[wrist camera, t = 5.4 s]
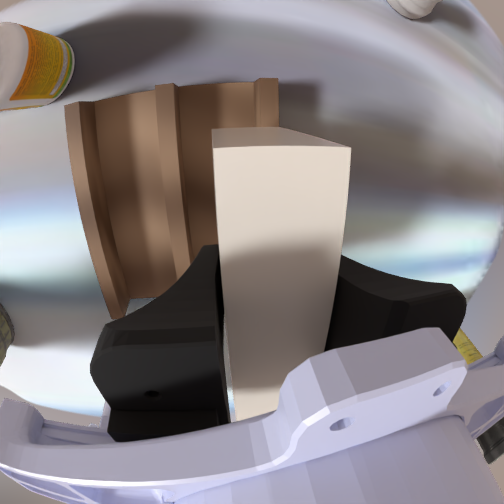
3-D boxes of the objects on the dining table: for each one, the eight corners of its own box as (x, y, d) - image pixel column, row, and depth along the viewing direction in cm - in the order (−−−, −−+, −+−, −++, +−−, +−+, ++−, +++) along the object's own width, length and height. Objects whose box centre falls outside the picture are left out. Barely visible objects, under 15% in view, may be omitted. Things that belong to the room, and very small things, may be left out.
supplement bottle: (68, 25, 12) (-10, -8, 4) (84, 84, 15) (-2, 77, 6) (14, 63, 12) (-73, 61, 4) (28, 120, 15) (-63, 143, 6)
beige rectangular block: (276, 310, 17) (309, 411, 11) (224, 315, 16) (236, 422, 10) (280, 127, 12) (351, 147, 6) (211, 129, 12) (213, 148, 6)
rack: (268, 280, 24) (276, 306, 21) (111, 293, 22) (100, 319, 19) (266, 83, 17) (278, 78, 14) (74, 108, 15) (50, 109, 12)
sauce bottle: (403, 308, 28) (504, 454, 11) (444, 293, 28) (545, 414, 11) (393, 348, 31) (469, 480, 14) (432, 333, 31) (511, 447, 14)
